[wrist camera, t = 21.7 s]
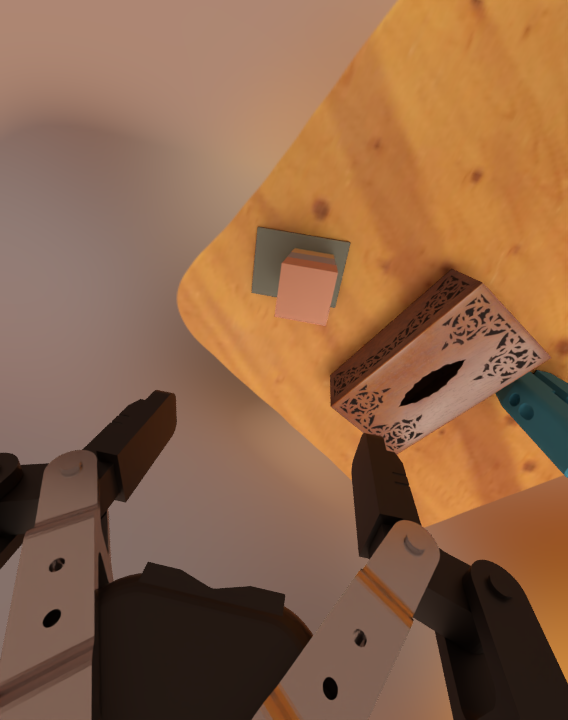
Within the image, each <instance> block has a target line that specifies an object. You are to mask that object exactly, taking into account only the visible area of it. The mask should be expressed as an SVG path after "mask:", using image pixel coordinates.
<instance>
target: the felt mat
mask: <svg viewBox="0 0 568 720" xmlns="http://www.w3.org/2000/svg"><path fill="white" fill-rule="evenodd" d="M349 247H350V242H345V241H339V240H334V239H328V238H322V237H316V236H310V235H304V234H298V233H292V232H286V231H280V230H274V229H269V228H263V227H258V229H257V240H256V250H255V261H254V272H253V283H252V293H256V294H261V295H267V296H272V297H277V295H278V287H279V280H280V272H281V265H282V262H283V261H284V260H285V259H286V258H287V256H288V255H289V254H290V253H291V252H292V250H293V249H294V248H298V249H303V250H309V251H315V252H321V253H327V254H333V255H334V259H335V263H336V265H337V270H338V275H337V279H336V284H335V288H334V292H333V297H332V301H331V306H330V307H333V308H335V306H336V302H337V297H338V293H339V289H340V285H341V281H342V276H343V272H344V268H345V264H346V259H347V255H348V251H349Z"/></svg>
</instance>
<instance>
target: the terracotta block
mask: <svg viewBox="0 0 568 720" xmlns="http://www.w3.org/2000/svg"><path fill="white" fill-rule="evenodd" d="M337 275H338V270H337V265H332V264H327V263H321V262H315V261H309V260H304V259H298V258H292V257H287V258H286V259H285V260H284V261H283V262H282V265H281V272H280V280H279V287H278V295H277V302H276V309H275V317H280V318H285V319H291V320H296V321H301V322H307V323H312V324H318V325H323V326H326V323H327V319H328V314H329V310H330V306H331V301H332V297H333V292H334V288H335V284H336V279H337Z"/></svg>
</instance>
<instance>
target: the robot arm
mask: <svg viewBox="0 0 568 720" xmlns="http://www.w3.org/2000/svg"><path fill="white" fill-rule="evenodd" d="M176 418H177V417H176V396H175V394H174V393H169V392H164V391H160V390H155V391H154V392H153V393H152V394H151V395H150V396H149V397H148V398H147V399H146V400H142V399H140V400H138V401H136V402H134V403H132V404H130V405H128V406H127V407H126V408H125V409H124V410H123V411H122V412H121V413H120V414H119V416H117V417H116V418H115V419H114V420H113V421H112V423H110V424H109V425H107V427H105V428H104V429H103V430H102V431H101V432H100V433H99V434H98V435H97V436H96V437H95V438H94V439H93V440H92V441H91V442H90V443H89V444H88V445H87V446H86V447H85V448H84V449H82V450H75V451H70V452H67V453H65V454H62V455H60V456H58V457H57V458H55V459H54V460H53V461H51V462H50V463H48V464H30V465H20V463H19V460H18V458H17V457H16V456H15V455H13V454H10V453H0V569H1V568H2V567H3V565H4V564H5V563H6V562H7V560H9V558H10V557H11V556H12V555H13V554H14V553H15V551H16V550H17V549H18V548H19V547H20V546H21V544H22V543H23V544H22V550H21V555H20V560H19V565H18V570H17V576H16V581H15V586H14V591H13V596H12V602H11V607H10V612H9V617H8V622H7V627H6V633H5V638H4V643H3V648H2V653H1V659H0V720H368V719H369V717H370V715H371V713H372V711H373V709H374V706H375V704H376V702H377V700H378V698H379V696H380V693H381V691H382V689H383V687H384V685H385V683H386V680H387V678H388V676H389V674H390V672H391V670H392V668H393V665H394V663H395V661H396V659H397V657H398V655H399V652H400V650H401V648H402V646H403V644H404V642H405V640H406V637H407V635H408V633H409V631H410V628H411V626H412V623H413V619H412V618H415V619H417V620H418V621H420V622H422V623H423V624H425V625H426V626H428V627H429V628H431V629H433V630H434V631H435V634H436V639H437V644H438V648H439V653H440V657H441V662H442V667H443V672H444V677H445V681H446V686H447V691H448V696H449V700H450V705H451V709H452V714H453V719H454V720H568V683H567V681H566V679H565V677H564V675H563V673H562V670H561V668H560V666H559V664H558V662H557V660H556V658H555V656H554V653H553V651H552V649H551V647H550V645H549V643H548V641H547V639H546V637H545V635H544V632H543V630H542V628H541V626H540V624H539V622H538V620H537V617H536V615H535V613H534V611H533V609H532V607H531V605H530V603H529V601H528V598H527V596H526V594H525V593H524V591H523V589H522V588H521V586H520V585H519V583H518V582H517V581H516V580H515V579H514V578H513V577H512V576H511V575H510V574H509V573H508V572H507V571H506V570H505V569H503V568H502V567H500V566H499V565H497V564H495V563H493V562H490V561H487V560H477V561H475V562H474V563H473V564H472V566H470V565H468V564H466V563H464V562H462V561H460V560H459V559H457V558H455V557H453V556H451V555H449V554H447V553H446V552H444V551H442V550H441V549H440V548H438V545H437V543H436V541H435V539H434V538H433V537H432V535H431V534H430V533H429V532H428V531H427V530H426V529H425V528H423V527H422V526H421V523H420V519H419V516H418V513H417V509H416V506H415V503H414V499H413V496H412V493H411V489H410V487H409V483H408V479H407V477H406V473H405V469H404V466H403V463H402V462H401V460H400V459H399V458H398V456H397V455H396V454H395V452H392V451H387V450H386V446H385V442H384V438H383V437H382V436H378V435H373V434H368V433H363V435H362V437H361V439H360V442H359V445H358V448H357V451H356V453H355V456H354V459H353V463H352V484H353V496H354V506H355V516H356V528H357V539H358V550H359V556H360V557H364V558H368V559H369V561H368V563H367V564H366V565H365V567H364V568H363V569H361V570H360V571H359V572H358V574H357V575H356V576H355V578H354V579H353V580H352V582H351V583H350V585H349V586H348V587H347V589H346V590H345V592H344V593H343V594H342V596H341V597H340V599H339V600H338V602H337V603H336V604H335V606H334V607H333V609H332V610H331V611H330V613H329V614H328V616H327V617H326V618H325V620H324V621H323V623H322V624H321V625H320V627H319V628H318V630H317V631H316V632H315V634H314V635H313V634H312V633H311V631H310V630H309V628H308V627H307V626H306V625H305V623H304V622H303V621H302V620H301V619H300V618H299V617H298V616H297V615H296V614H294V613H293V612H292V611H291V610H289V609H288V608H286V607H284V601H285V594H282V593H277V592H273V591H269V590H265V589H260V588H256V587H252V586H247V587H234V588H220V589H213V588H210V587H208V586H206V585H205V584H203V583H202V582H200V581H198V580H197V579H195V578H194V577H192V576H190V575H189V574H187V573H186V572H184V571H182V570H180V569H175V568H172V567H167V566H163V565H159V564H155V563H151V562H148V563H147V565H146V567H145V569H144V571H143V573H139V574H134V575H129V576H126V577H123V578H120V579H117V580H115V581H113V573H112V565H111V552H110V528H109V511H108V508H109V506H110V505H111V504H112V502H113V501H114V500H118V501H122V502H126V501H127V500H128V499H129V497H130V496H131V494H132V493H133V491H134V490H135V489H136V487H137V486H138V484H139V483H140V481H141V480H142V479H143V477H144V475H145V474H146V473H147V471H148V470H149V468H150V467H151V466H152V464H153V463H154V461H155V460H156V458H157V457H158V456H159V454H160V453H161V451H162V450H163V448H164V447H165V446H166V444H167V443H168V441H169V440H170V438H171V437H172V435H173V434H174V431H175V428H176V422H177V419H176Z"/></svg>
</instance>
